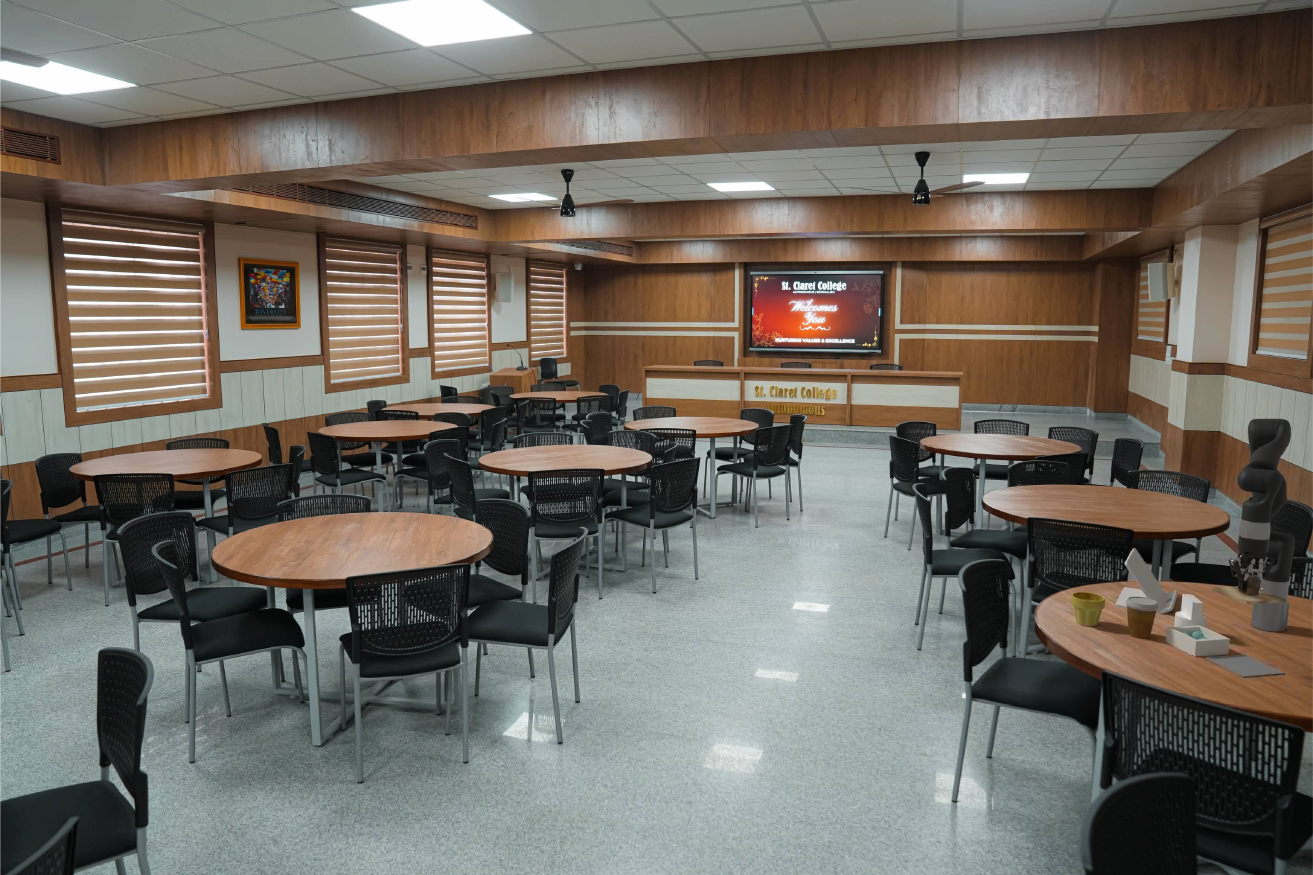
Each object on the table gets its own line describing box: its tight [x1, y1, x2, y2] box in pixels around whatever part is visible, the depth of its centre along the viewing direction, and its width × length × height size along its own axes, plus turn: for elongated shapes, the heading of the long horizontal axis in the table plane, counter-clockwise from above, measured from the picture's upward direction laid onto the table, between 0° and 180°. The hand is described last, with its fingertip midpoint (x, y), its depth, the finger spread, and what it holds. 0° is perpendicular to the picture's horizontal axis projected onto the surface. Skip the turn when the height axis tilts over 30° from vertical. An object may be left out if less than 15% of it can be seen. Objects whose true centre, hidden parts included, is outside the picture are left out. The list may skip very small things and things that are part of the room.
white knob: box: [1173, 593, 1208, 628], centre depth 283 cm, size 9×9×12 cm
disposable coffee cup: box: [1126, 596, 1159, 640], centre depth 282 cm, size 10×10×12 cm
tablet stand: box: [1114, 547, 1179, 615], centre depth 315 cm, size 18×25×17 cm
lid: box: [1211, 574, 1286, 606], centre depth 254 cm, size 13×13×6 cm
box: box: [1165, 625, 1231, 658], centre depth 271 cm, size 12×12×5 cm
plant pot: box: [1070, 591, 1106, 627], centre depth 293 cm, size 10×10×10 cm
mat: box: [1205, 654, 1285, 678], centre depth 257 cm, size 14×14×1 cm
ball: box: [1192, 631, 1204, 640], centre depth 274 cm, size 3×3×3 cm
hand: (1248, 591), depth 254 cm, fingers closed on lid, 3 cm apart
